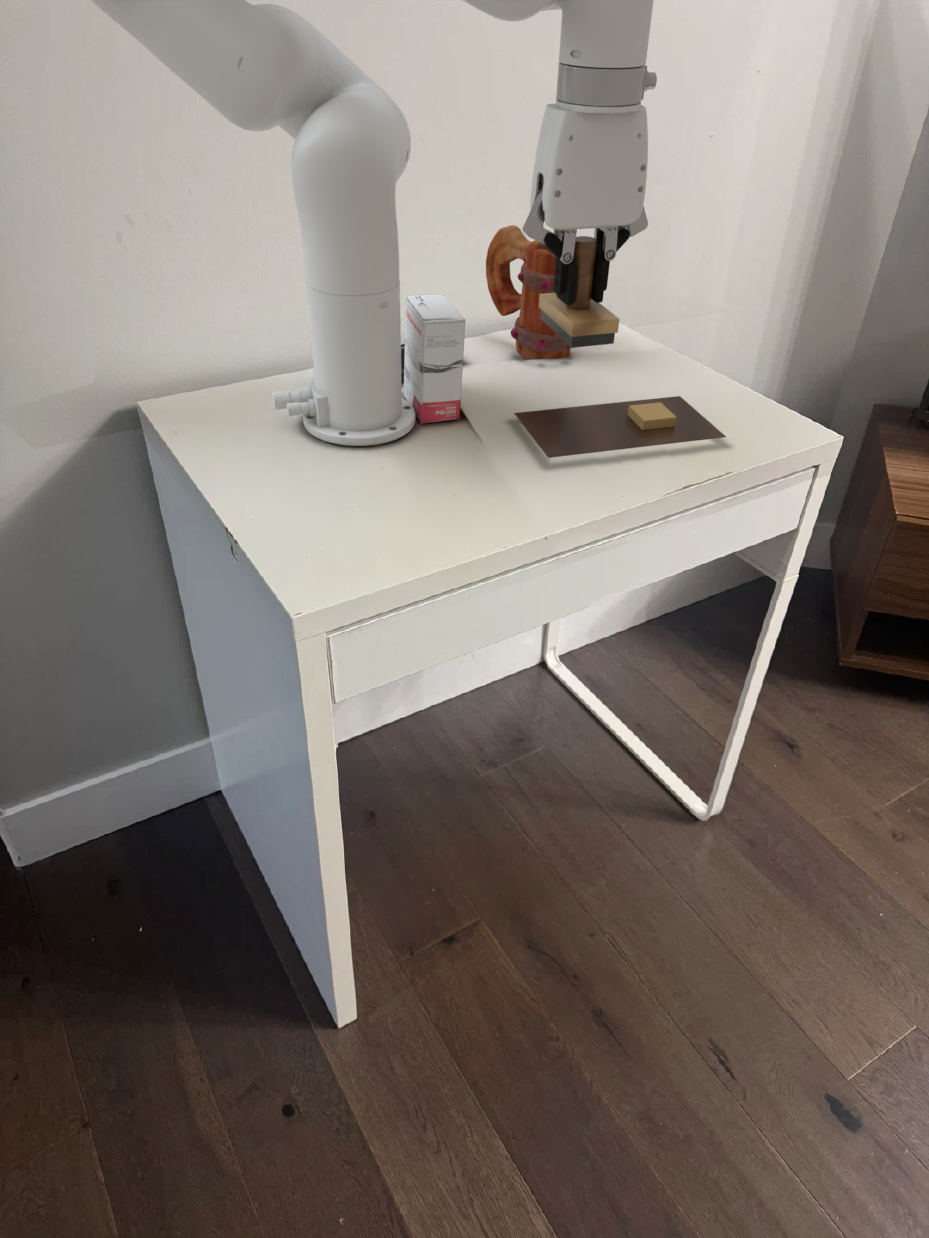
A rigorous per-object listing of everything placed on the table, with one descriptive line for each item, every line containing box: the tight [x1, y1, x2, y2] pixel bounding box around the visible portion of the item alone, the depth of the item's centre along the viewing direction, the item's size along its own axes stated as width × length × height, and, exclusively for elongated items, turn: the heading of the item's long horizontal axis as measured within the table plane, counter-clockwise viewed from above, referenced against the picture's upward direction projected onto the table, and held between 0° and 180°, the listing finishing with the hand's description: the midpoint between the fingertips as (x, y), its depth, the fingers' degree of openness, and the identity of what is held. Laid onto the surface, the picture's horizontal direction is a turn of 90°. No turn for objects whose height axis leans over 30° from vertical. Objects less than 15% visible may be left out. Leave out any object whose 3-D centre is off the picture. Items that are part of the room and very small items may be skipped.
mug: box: [485, 225, 572, 361], centre depth 113 cm, size 15×8×15 cm, turn 46°
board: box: [514, 395, 727, 459], centre depth 99 cm, size 21×11×1 cm, turn 107°
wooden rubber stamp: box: [539, 235, 620, 349], centre depth 88 cm, size 5×9×9 cm, turn 17°
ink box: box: [403, 293, 466, 424], centre depth 99 cm, size 9×5×12 cm, turn 17°
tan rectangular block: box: [628, 402, 677, 430], centre depth 99 cm, size 4×4×1 cm
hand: (579, 298), depth 89 cm, fingers closed on wooden rubber stamp, 2 cm apart
